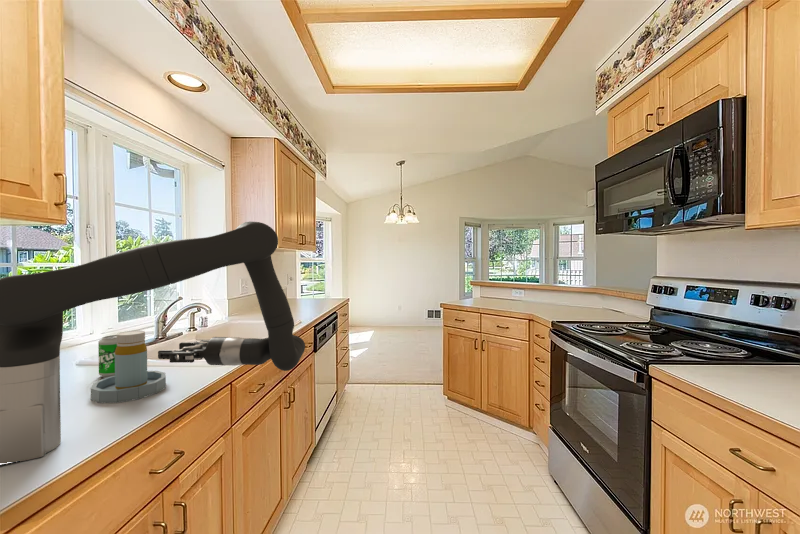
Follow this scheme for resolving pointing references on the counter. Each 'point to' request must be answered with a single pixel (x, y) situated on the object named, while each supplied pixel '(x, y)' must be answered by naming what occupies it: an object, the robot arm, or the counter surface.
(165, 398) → the counter surface
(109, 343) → the soda can
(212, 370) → the counter surface
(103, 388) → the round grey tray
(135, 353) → the bottle
